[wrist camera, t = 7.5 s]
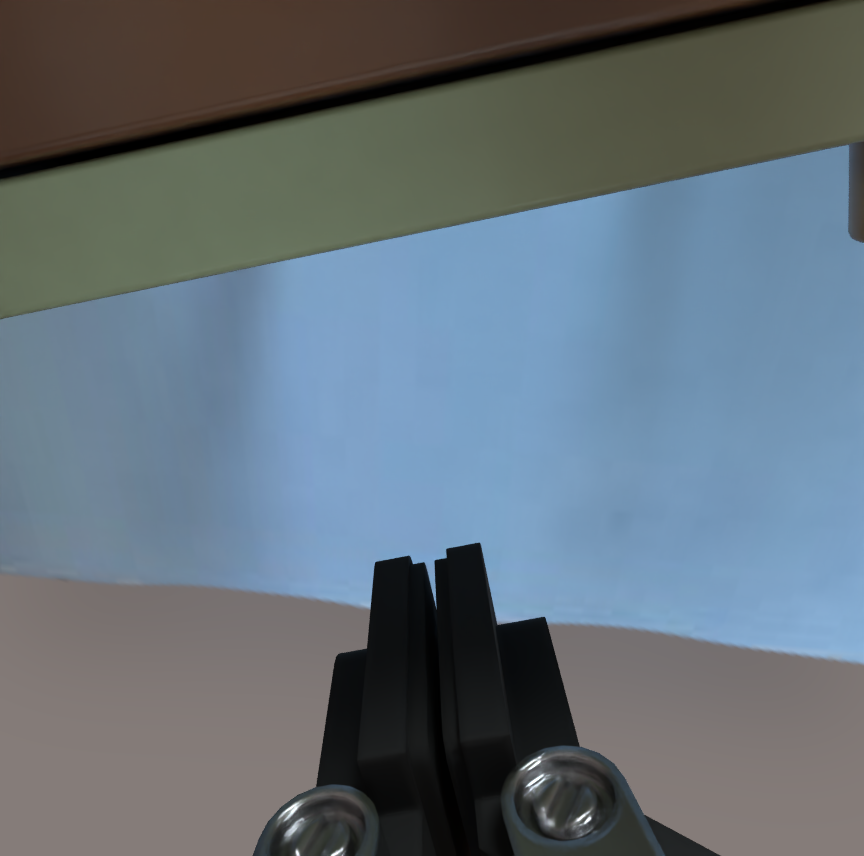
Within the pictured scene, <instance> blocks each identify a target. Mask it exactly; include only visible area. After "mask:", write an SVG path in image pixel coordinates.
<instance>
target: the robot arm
mask: <svg viewBox="0 0 864 856" xmlns="http://www.w3.org/2000/svg"><path fill="white" fill-rule="evenodd" d="M446 554H447V558H444V559H439V560H435V584H436V606H437V610H436V606H435V601H434V597H433V593H432V589H431V585H430V581H429V576H428V572H427V568H426V565H425V563H424V562H423V563H417V564H413V563H412V560H411V557H410V556H405V557H399V558H394V559H389V560H383V561H378V562H375V566H374V577H373V588H372V599H371V612H370V623H369V633H368V644H367V649H363V650H357V651H351V652H346V653H340V654H338V655H337V657H336V660H335V663H334V670H333V677H332V683H331V690H330V697H329V704H328V711H327V717H326V724H325V731H324V737H323V744H322V751H321V758H320V764H319V771H318V778H317V785H316V787H315V788H313V789H311V790H308V791H306V792H304V793H301V794H299V795H297V796H296V797H294V798H293V799H291V800H290V801H289V802H287V803H286V804H285V805H283V806H282V807H281V808H280V809H279V810H278V811H277V812H276V814H275V815H274V816H273V817H272V818H271V819H270V820H269V821H268V823H267V825H266V826H265V828H264V830H263V832H262V834H261V836H260V838H259V840H258V843H257V845H256V848H255V851H254V853H253V856H720V855H718V854H716V853H714V852H713V851H711V850H709V849H707V848H705V847H703V846H701V845H700V844H698V843H696V842H694V841H692V840H690V839H688V838H686V837H685V836H683V835H681V834H679V833H677V832H675V831H674V830H672V829H670V828H668V827H666V826H664V825H662V824H660V823H659V822H657V821H655V820H653V819H651V818H649V817H647V816H646V815H644V814H643V812H642V810H641V808H640V806H639V804H638V802H637V800H636V799H635V797H634V795H633V793H632V791H631V789H630V787H629V785H628V783H627V781H626V779H625V778H624V776H623V775H622V774H621V772H620V771H619V770H618V769H617V767H616V766H615V764H614V763H612V762H611V761H610V760H608V759H607V758H605V757H604V756H602V755H601V754H600V753H597V752H594V751H592V750H589V749H586V748H583V747H580V746H579V742H578V739H577V735H576V731H575V727H574V723H573V719H572V716H571V712H570V708H569V704H568V701H567V697H566V693H565V690H564V685H563V682H562V678H561V675H560V670H559V667H558V663H557V659H556V655H555V651H554V648H553V644H552V640H551V636H550V633H549V629H548V625H547V622H546V618H545V617H540V618H535V619H529V620H524V621H518V622H512V623H507V624H501V625H497V621H496V617H495V612H494V607H493V602H492V597H491V592H490V587H489V582H488V577H487V573H486V568H485V563H484V558H483V553H482V548H481V544H480V543H475V544H469V545H464V546H458V547H453V548H448V549H446Z"/></svg>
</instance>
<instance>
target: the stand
mask: <svg viewBox="0 0 864 856" xmlns="http://www.w3.org/2000/svg"><path fill="white" fill-rule="evenodd" d="M781 1H785V0H0V179H2V178H7V177H12V176H16V175H21V174H25V173H30V172H35V171H39V170H44V169H49V168H53V167H58V166H62V165H67V164H72V163H76V162H81V161H86V160H90V159H95V158H99V157H104V156H109V155H113V154H118V153H123V152H127V151H132V150H136V149H141V148H146V147H150V146H155V145H160V144H164V143H169V142H173V141H178V140H183V139H187V138H192V137H197V136H201V135H206V134H210V133H215V132H220V131H224V130H229V129H234V128H238V127H243V126H247V125H252V124H257V123H261V122H266V121H271V120H275V119H280V118H284V117H289V116H294V115H298V114H303V113H308V112H312V111H317V110H321V109H326V108H331V107H335V106H340V105H345V104H349V103H354V102H358V101H363V100H368V99H372V98H377V97H382V96H386V95H391V94H395V93H400V92H405V91H409V90H414V89H419V88H423V87H428V86H432V85H437V84H442V83H446V82H451V81H456V80H460V79H465V78H469V77H474V76H479V75H483V74H488V73H493V72H497V71H502V70H506V69H511V68H516V67H520V66H525V65H530V64H534V63H539V62H543V61H548V60H553V59H557V58H562V57H567V56H571V55H576V54H580V53H585V52H590V51H594V50H599V49H604V48H608V47H613V46H617V45H622V44H627V43H631V42H636V41H641V40H645V39H650V38H654V37H659V36H664V35H668V34H673V33H678V32H682V31H687V30H691V29H696V28H701V27H705V26H710V25H715V24H719V23H724V22H728V21H733V20H738V19H742V18H747V17H752V16H756V15H761V14H765V13H770V12H775V11H779V10H784V9H789V8H793V7H798V6H802V5H807V4H812V3H816V2H821V1H826V0H792V1H788V2H783V3H778V4H774V5H769V6H764V7H760V8H755V9H751V10H746V11H741V12H737V13H732V14H728V15H723V16H718V17H714V18H709V19H704V20H700V21H695V22H691V23H686V24H681V25H677V26H672V27H668V28H663V29H658V30H654V31H649V32H644V33H640V34H635V35H631V36H626V37H621V38H617V39H612V40H608V41H603V42H598V43H594V44H589V45H584V46H580V47H575V48H571V49H566V50H561V51H557V52H552V53H548V54H543V55H538V56H534V57H529V58H524V59H520V60H515V61H511V62H506V63H501V64H497V65H492V66H488V67H483V68H478V69H474V70H469V71H465V72H460V73H455V74H451V75H446V76H441V77H437V78H432V79H428V80H423V81H418V82H414V83H409V84H405V85H400V86H395V87H391V88H386V89H381V90H377V91H372V92H368V93H363V94H358V95H354V96H349V97H345V98H340V99H335V100H331V101H326V102H321V103H317V104H312V105H308V106H303V107H298V108H294V109H289V110H285V111H280V112H275V113H271V114H266V115H261V116H257V117H252V118H248V119H243V120H238V121H234V122H229V123H225V124H220V125H215V126H211V127H206V128H201V129H197V130H192V131H188V132H183V133H178V134H174V135H169V136H165V137H160V138H155V139H151V140H146V141H141V142H137V143H132V144H128V145H123V146H117V145H121V144H126V143H130V142H135V141H140V140H144V139H149V138H153V137H158V136H163V135H167V134H172V133H177V132H181V131H186V130H190V129H195V128H200V127H204V126H209V125H213V124H218V123H223V122H227V121H232V120H236V119H241V118H246V117H250V116H255V115H260V114H264V113H269V112H273V111H278V110H283V109H287V108H292V107H296V106H301V105H306V104H310V103H315V102H320V101H324V100H329V99H333V98H338V97H343V96H347V95H352V94H356V93H361V92H366V91H370V90H375V89H379V88H384V87H389V86H393V85H398V84H403V83H407V82H412V81H416V80H421V79H426V78H430V77H435V76H439V75H444V74H449V73H453V72H458V71H462V70H467V69H472V68H476V67H481V66H486V65H490V64H495V63H499V62H504V61H509V60H513V59H518V58H522V57H527V56H532V55H536V54H541V53H546V52H550V51H555V50H559V49H564V48H569V47H573V46H578V45H582V44H587V43H592V42H596V41H601V40H605V39H610V38H615V37H619V36H624V35H629V34H633V33H638V32H642V31H647V30H652V29H656V28H661V27H665V26H670V25H675V24H679V23H684V22H688V21H693V20H698V19H702V18H707V17H712V16H716V15H721V14H725V13H730V12H735V11H739V10H744V9H748V8H753V7H758V6H762V5H767V4H772V3H776V2H781Z"/></svg>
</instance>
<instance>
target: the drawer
mask: <svg viewBox="0 0 864 856" xmlns="http://www.w3.org/2000/svg"><path fill="white" fill-rule="evenodd" d="M788 1H792V0H785V1H781V2H776V3H772V4H767V5H762V6H758V7H753V8H748V9H744V10H739V11H735V12H730V13H725V14H721V15H716V16H712V17H707V18H702V19H698V20H693V21H688V22H684V23H679V24H675V25H670V26H665V27H661V28H656V29H652V30H647V31H642V32H638V33H633V34H629V35H624V36H619V37H615V38H610V39H605V40H601V41H596V42H592V43H587V44H582V45H578V46H573V47H569V48H564V49H559V50H555V51H550V52H546V53H541V54H536V55H532V56H527V57H522V58H518V59H513V60H509V61H504V62H499V63H495V64H490V65H486V66H481V67H476V68H472V69H467V70H462V71H458V72H453V73H449V74H444V75H439V76H435V77H430V78H426V79H421V80H416V81H412V82H407V83H403V84H398V85H393V86H389V87H384V88H379V89H375V90H370V91H366V92H361V93H356V94H352V95H347V96H343V97H338V98H333V99H329V100H324V101H320V102H315V103H310V104H306V105H301V106H296V107H292V108H287V109H283V110H278V111H273V112H269V113H264V114H260V115H255V116H250V117H246V118H241V119H236V120H232V121H227V122H223V123H218V124H213V125H209V126H204V127H200V128H195V129H190V130H186V131H181V132H177V133H172V134H167V135H163V136H158V137H153V138H149V139H144V140H140V141H135V142H130V143H126V144H121V145H117V146H123V145H128V144H132V143H137V142H141V141H146V140H151V139H155V138H160V137H165V136H169V135H174V134H178V133H183V132H188V131H192V130H197V129H201V128H206V127H211V126H215V125H220V124H225V123H229V122H234V121H238V120H243V119H248V118H252V117H257V116H261V115H266V114H271V113H275V112H280V111H285V110H289V109H294V108H298V107H303V106H308V105H312V104H317V103H321V102H326V101H331V100H335V99H340V98H345V97H349V96H354V95H358V94H363V93H368V92H372V91H377V90H381V89H386V88H391V87H395V86H400V85H405V84H409V83H414V82H418V81H423V80H428V79H432V78H437V77H441V76H446V75H451V74H455V73H460V72H465V71H469V70H474V69H478V68H483V67H488V66H492V65H497V64H501V63H506V62H511V61H515V60H520V59H524V58H529V57H534V56H538V55H543V54H548V53H552V52H557V51H561V50H566V49H571V48H575V47H580V46H584V45H589V44H594V43H598V42H603V41H608V40H612V39H617V38H621V37H626V36H631V35H635V34H640V33H644V32H649V31H654V30H658V29H663V28H668V27H672V26H677V25H681V24H686V23H691V22H695V21H700V20H704V19H709V18H714V17H718V16H723V15H728V14H732V13H737V12H741V11H746V10H751V9H755V8H760V7H764V6H769V5H774V4H778V3H783V2H788ZM845 145H849V212H848V232H849V234H850V236H851V238H852V239H854V240H856V241H859V242H862V243H864V0H826V1H821V2H816V3H812V4H807V5H802V6H798V7H793V8H789V9H784V10H779V11H775V12H770V13H765V14H761V15H756V16H752V17H747V18H742V19H738V20H733V21H728V22H724V23H719V24H715V25H710V26H705V27H701V28H696V29H691V30H687V31H682V32H678V33H673V34H668V35H664V36H659V37H654V38H650V39H645V40H641V41H636V42H631V43H627V44H622V45H617V46H613V47H608V48H604V49H599V50H594V51H590V52H585V53H580V54H576V55H571V56H567V57H562V58H557V59H553V60H548V61H543V62H539V63H534V64H530V65H525V66H520V67H516V68H511V69H506V70H502V71H497V72H493V73H488V74H483V75H479V76H474V77H469V78H465V79H460V80H456V81H451V82H446V83H442V84H437V85H432V86H428V87H423V88H419V89H414V90H409V91H405V92H400V93H395V94H391V95H386V96H382V97H377V98H372V99H368V100H363V101H358V102H354V103H349V104H345V105H340V106H335V107H331V108H326V109H321V110H317V111H312V112H308V113H303V114H298V115H294V116H289V117H284V118H280V119H275V120H271V121H266V122H261V123H257V124H252V125H247V126H243V127H238V128H234V129H229V130H224V131H220V132H215V133H210V134H206V135H201V136H197V137H192V138H187V139H183V140H178V141H173V142H169V143H164V144H160V145H155V146H150V147H146V148H141V149H136V150H132V151H127V152H123V153H118V154H113V155H109V156H104V157H99V158H95V159H90V160H86V161H81V162H76V163H72V164H67V165H62V166H58V167H53V168H49V169H44V170H39V171H35V172H30V173H25V174H21V175H16V176H12V177H7V178H2V179H0V319H3V318H8V317H13V316H18V315H23V314H28V313H33V312H37V311H42V310H47V309H52V308H57V307H62V306H67V305H71V304H76V303H81V302H86V301H91V300H96V299H101V298H105V297H110V296H115V295H120V294H125V293H130V292H135V291H140V290H144V289H149V288H154V287H159V286H164V285H169V284H174V283H178V282H183V281H188V280H193V279H198V278H203V277H208V276H212V275H217V274H222V273H227V272H232V271H237V270H242V269H247V268H251V267H256V266H261V265H266V264H271V263H276V262H281V261H285V260H290V259H295V258H300V257H305V256H310V255H315V254H319V253H324V252H329V251H334V250H339V249H344V248H349V247H353V246H358V245H363V244H368V243H373V242H378V241H383V240H387V239H392V238H397V237H402V236H407V235H412V234H417V233H422V232H426V231H431V230H436V229H441V228H446V227H451V226H456V225H460V224H465V223H470V222H475V221H480V220H485V219H490V218H494V217H499V216H504V215H509V214H514V213H519V212H524V211H528V210H533V209H538V208H543V207H548V206H553V205H558V204H563V203H567V202H572V201H577V200H582V199H587V198H592V197H597V196H601V195H606V194H611V193H616V192H621V191H626V190H631V189H635V188H640V187H645V186H650V185H655V184H660V183H665V182H669V181H674V180H679V179H684V178H689V177H694V176H699V175H704V174H708V173H713V172H718V171H723V170H728V169H733V168H738V167H742V166H747V165H752V164H757V163H762V162H767V161H772V160H776V159H781V158H786V157H791V156H796V155H801V154H806V153H810V152H815V151H820V150H825V149H830V148H835V147H840V146H845Z"/></svg>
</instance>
